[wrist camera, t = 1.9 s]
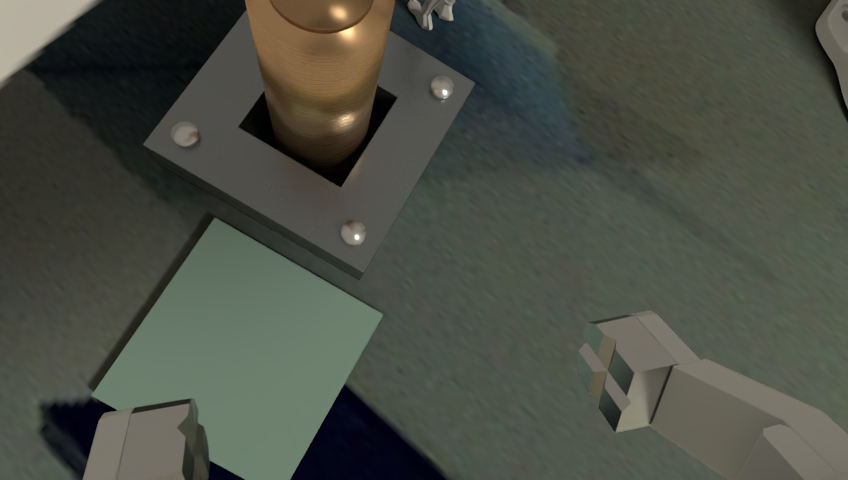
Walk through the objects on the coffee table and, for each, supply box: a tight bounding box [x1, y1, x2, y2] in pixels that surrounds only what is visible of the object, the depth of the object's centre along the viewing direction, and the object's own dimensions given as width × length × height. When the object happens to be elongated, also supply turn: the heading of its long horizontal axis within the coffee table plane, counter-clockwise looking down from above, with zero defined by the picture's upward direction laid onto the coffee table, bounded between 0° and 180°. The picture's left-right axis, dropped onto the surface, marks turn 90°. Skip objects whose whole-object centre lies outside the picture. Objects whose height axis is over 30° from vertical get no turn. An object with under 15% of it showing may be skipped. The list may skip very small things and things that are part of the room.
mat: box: [91, 218, 383, 480], centre depth 27 cm, size 10×10×1 cm
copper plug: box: [245, 0, 395, 177], centre depth 24 cm, size 5×5×13 cm
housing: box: [143, 10, 475, 280], centre depth 29 cm, size 12×12×3 cm
